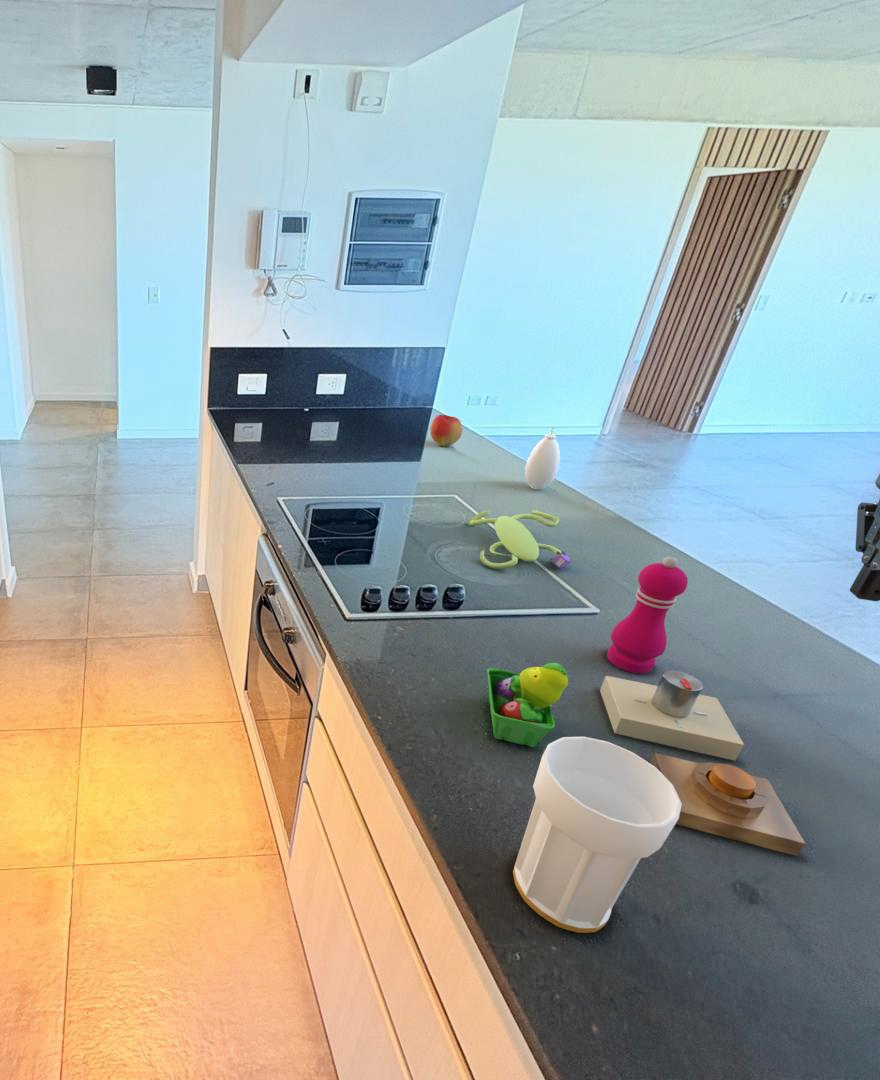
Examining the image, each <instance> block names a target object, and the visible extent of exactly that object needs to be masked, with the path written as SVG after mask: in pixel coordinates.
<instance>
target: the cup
mask: <svg viewBox="0 0 880 1080" xmlns="http://www.w3.org/2000/svg"><path fill="white" fill-rule="evenodd" d="M532 788H533V792H534V797H535V800H534V803H533V806H532V810H531V813H530V816H529V819H528V822H527V826H526V828H525V832H524V835H523V838H522V841H521V843H520V848H519V850H518V854H517V857H516V860H515V863H514V867H513V870H512V875H513V880H514V886H515V888H516V889H517V891H518V893H519V895H520V896H521V898H522V899H523V901H524V902H525V903H526V904H527V905H528V906H529V907H530V908H531V909H532V910H533V911H534V912H535V913H536V914H537V915H539V916H540V917H541V918H543V919H544V920H546V921H548V923H551V924H552V925H554V926H556V927H558V928H561V929H563V930H566V931H571V932H575V933H578V934H580V933H581V934H582V933H583V934H587V933H588V934H589V933H597V932H598V931H599V930H601V929H602V928H603V927H605V925H607V923H608V921H609V919H610V917H611V915H612V910H613V907H614V905H615V904H616V902H617V901H618V898H620V895H621V894H622V892H623V890H624V888H625V886H626V885H627V883H628V881H629V880H630V878H631V876H632V875H633V872H634V871H635V869H636V868H637V866H638V864H639V862H640V861H641V859H645V858H646V859H647V858H648V857H650V856H651V855H653V854H654V853H656V852H657V851H659V850H661V848H662V847H663V845H664V843H665V842H666V840H667V839H668V837H669V835H670V834H671V833H672V830H673V829H674V827H675V825H677V824H676V822H677V821H678V819H679V815H680V810H681V805H682V803H681V801H680V799H679V797H678V795H677V793H676V791H675V789H674V786H673V785H672V784H671V783H670V782H669V781H668V779H667V778H666V777H665V776H664V775H663V774H662V773H661V772H660V771H659V770H658V769H657V768H656V767H655V766H653V765H651V764H650V762H648V761H647V760H646V759H644V758H643V757H641V756H639V755H638V754H636V753H634V752H633V751H631V750H628V749H626V748H624V747H621V746H619V745H617V744H615V743H612V742H609V741H606V740H601V739H598V738H592V737H587V736H563V737H560V738H557V739H556V740H554V741H552V742H550V743H548V744H547V746H546V748H545V749H544V752H543V753H542V755H541V758H540V763H539V765H538V769H537V772H536V775H535V778H534V782H533V785H532Z"/></svg>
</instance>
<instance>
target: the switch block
mask: <svg viewBox="0 0 880 1080" xmlns="http://www.w3.org/2000/svg"><path fill="white" fill-rule="evenodd" d="M649 763H650V764H651V765H653V766H655V767H656V768H657V769H658V770H659V771H660V772H661V773H662V774H663V775H664V776H665V777H666V778H667V779H668V781H669V782H670V783H671V784H672V785H673V786H674V789H675V791H676V793H677V795H678V797H679V799H680V801H681V803H682V805H681V810H680V815H679V819H678V821H677V822H676V824H675V825H677V826H681V827H685V828H688V829H692V830H696V831H699V832H703V833H708V834H712V835H715V836H719V837H723V838H726V839H730V840H735V841H737V842H741V843H746V844H748V845H749V844H750V845H753V846H756V847H761V848H764V849H768V850H771V851H772V850H773V851H775V852H780V853H783V854H786V855H790V856H795V857H798V855H799V854H800V853H801V852H802V850H803V848H804V847H805V846H806V842H805V840H804V839H803V837H802V835H801V833H800V832H799V830H798V828H797V826H796V825H795V823H794V822H793V820H792V818H791V816H790V814H789V813H788V811H787V809H786V808H785V807H784V804H783V803H782V801H781V799H780V798H779V796H778V794H777V793H776V791H775V789H774V787H773V786H772V784H771V782H770V781H769V779H767V778H765V777H760V776H755V775H752V774H749V775H750V776H751V777H752V778H753V779H754V781H755V782H756V787H755V789H754V791H753V792H752V794H751V796H750V797H749V798H748V799H743V800H742V799H738V798H734V797H730V796H728V795H726V794H724V793H722V792H720V791H718V790H717V789H716V788H715V787H714V786H713V785H711V784H710V782H709V780H708V776H709V774H710V773H711V771H712V769H713V767H714V766H715V765H717V764H718V763H716V762H712V761H708V762H696V761H692V760H687V759H683V758H678V757H675V756H670V755H667V754H661V753H657V752H654V753H653V756H652V757H651V760H650V762H649Z"/></svg>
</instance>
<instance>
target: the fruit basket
mask: <svg viewBox="0 0 880 1080" xmlns="http://www.w3.org/2000/svg"><path fill="white" fill-rule="evenodd" d="M486 673H487V681H488V701H489V706H490V709H489V710H490V715H491V723H492V729H493V730H492V731H493V737H494V739H495V740H504V741H505V742H509V743H514V744H517V745H522V746H525V745H526V746H528V747H530V748H535V747H536V746H537V745H538V743H540V741H541V740H543V738H544V737H545V736H546V735H547V733H548V732H551V731H552V730H553V729H554V728H555V726H556V724H555V719H554V716H553V712H552V708H551V706H552V705H554V704H556V703H557V702H558V701H559V700H560V698H561V696H562V694H563V691H564V690H565V689H566V688H567V686H568V684H569V678H568V671H567V670H566V669H565V668H564V666H562V664H560V663H558V662H549V663H547V664H545V665H544V664H543V665H542V666H531V667H527V668H525V669H523V670H522V671H521V672H520V673H518V672H514V671H509V670H505V669H500V668H493V667H492V668H491V667H490V668H488V669H487V672H486Z"/></svg>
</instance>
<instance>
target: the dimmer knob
mask: <svg viewBox="0 0 880 1080" xmlns="http://www.w3.org/2000/svg"><path fill="white" fill-rule="evenodd" d="M657 686H658V687H657V689H656V692H655V694H654V696H653V698H652V704H653V706H654V707H655V708H656V709H658V710H659V711H661V712H663V713H665V714H667V715H669V716H673V717H678V718H685V717H687V716H689V714H690V712H691V710H692V708H693V706H694V704H695V702H696V700H697V698H698V696H699V695H701V691H702V690H703V683H702V682H701V681H700V680H699V679H698V678H697V677H695V676H694V675H691V674H689V673H687V672H684V671H681V670H672V669H671V670H670V669H669V670H666V671H664V672H663V673H662V676H661V679H660V680H659V682H658V685H657Z"/></svg>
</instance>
